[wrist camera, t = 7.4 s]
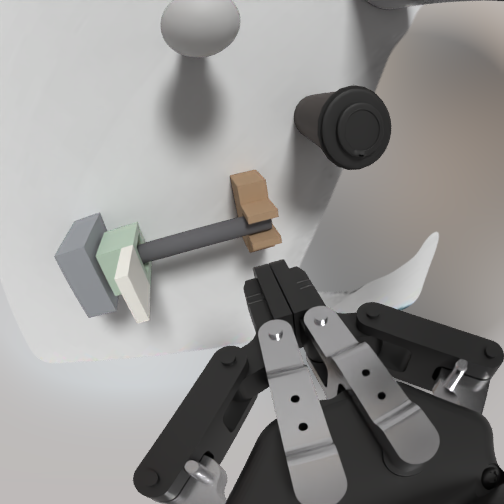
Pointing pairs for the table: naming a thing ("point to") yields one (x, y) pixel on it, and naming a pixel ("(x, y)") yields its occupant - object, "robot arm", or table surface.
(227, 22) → the lightbulb
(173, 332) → the table surface
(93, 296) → the rod rig
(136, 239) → the white-faced green block
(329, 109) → the coffee cup
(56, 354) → the table surface
